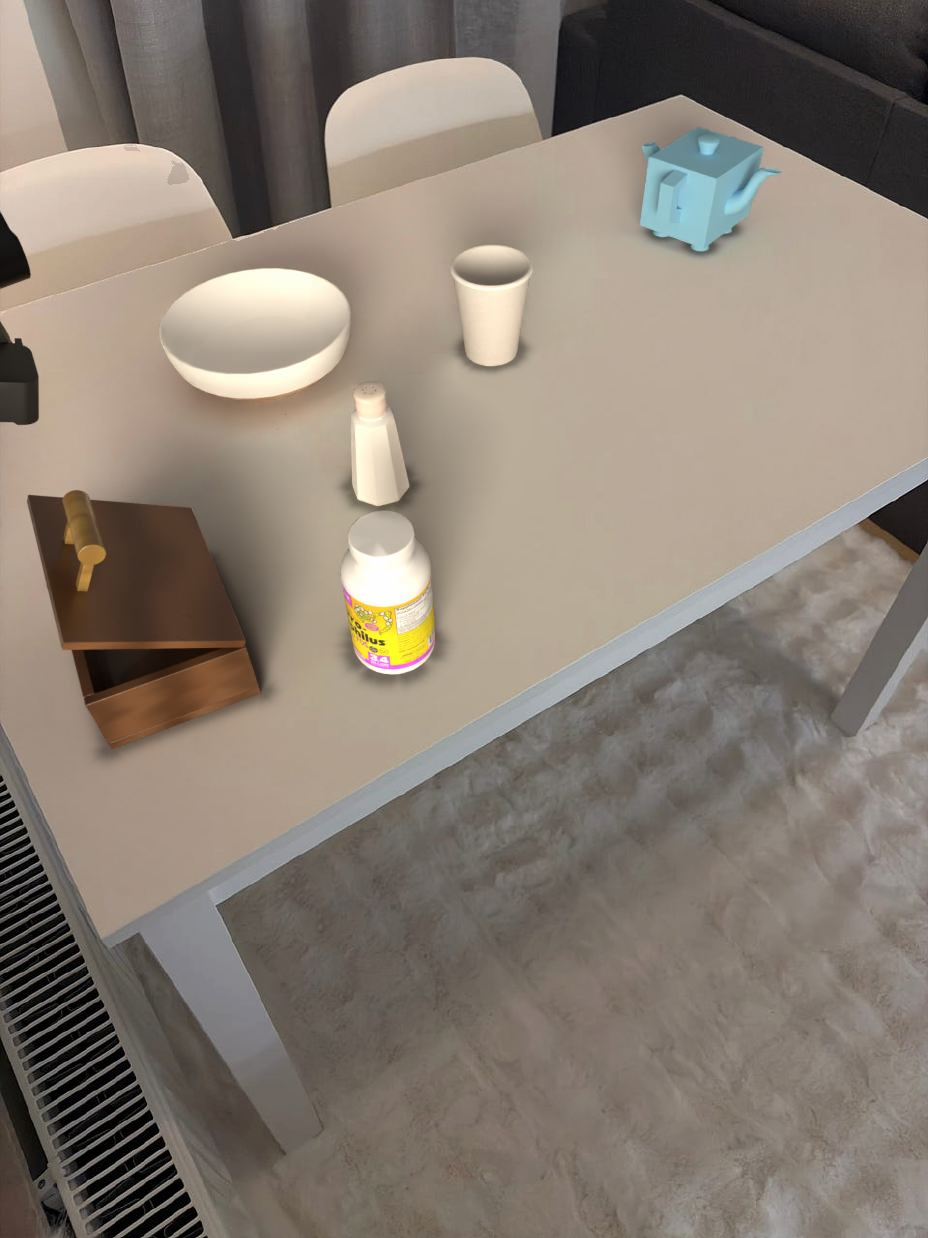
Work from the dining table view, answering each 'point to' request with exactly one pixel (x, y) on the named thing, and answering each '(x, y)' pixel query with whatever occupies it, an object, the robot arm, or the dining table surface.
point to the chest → (160, 687)
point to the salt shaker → (376, 448)
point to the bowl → (257, 333)
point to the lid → (130, 575)
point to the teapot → (700, 186)
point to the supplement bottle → (388, 593)
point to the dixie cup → (491, 300)
